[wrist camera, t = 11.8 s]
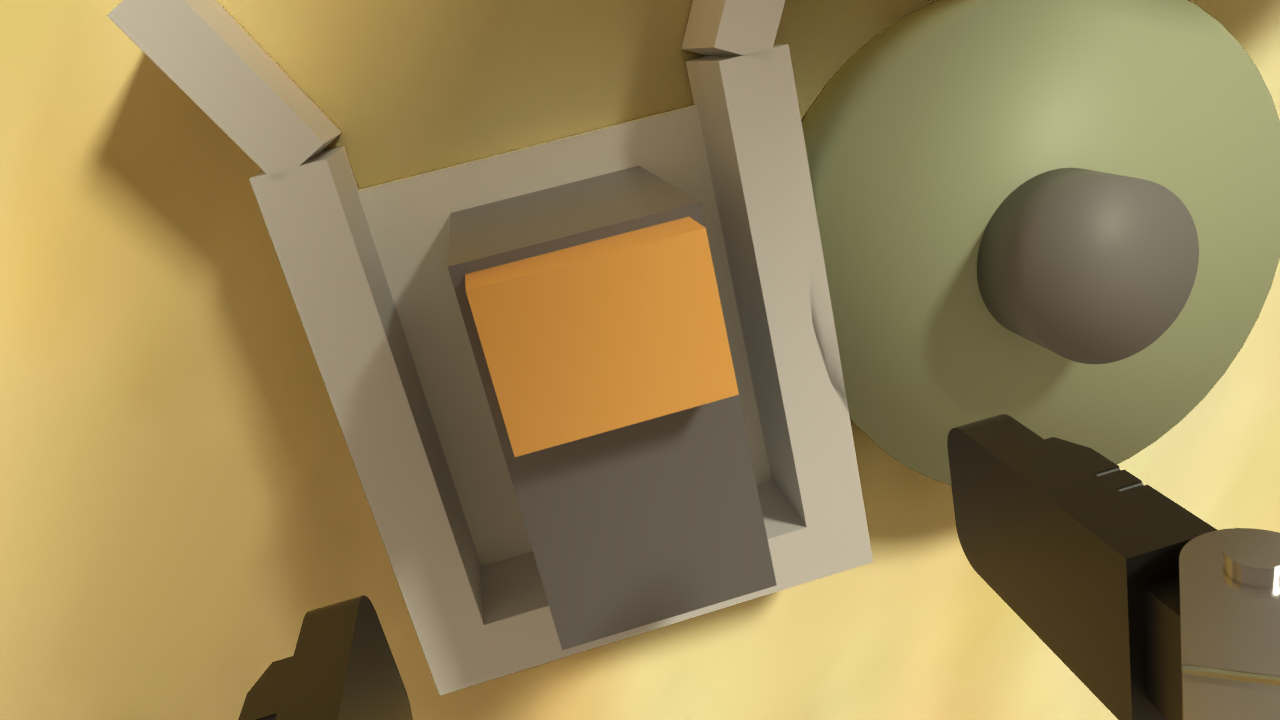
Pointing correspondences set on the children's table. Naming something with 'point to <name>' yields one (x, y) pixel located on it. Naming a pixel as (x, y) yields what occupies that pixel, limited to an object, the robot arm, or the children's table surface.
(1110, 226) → the grey bracket and lid
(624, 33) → the children's table surface
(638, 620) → the orange-panel grey block
